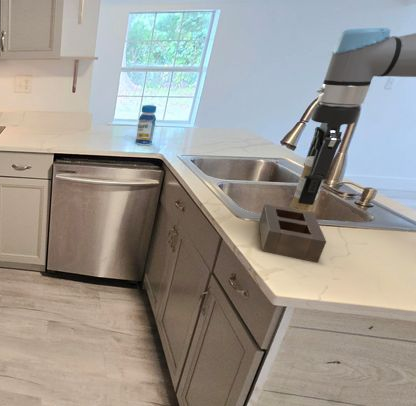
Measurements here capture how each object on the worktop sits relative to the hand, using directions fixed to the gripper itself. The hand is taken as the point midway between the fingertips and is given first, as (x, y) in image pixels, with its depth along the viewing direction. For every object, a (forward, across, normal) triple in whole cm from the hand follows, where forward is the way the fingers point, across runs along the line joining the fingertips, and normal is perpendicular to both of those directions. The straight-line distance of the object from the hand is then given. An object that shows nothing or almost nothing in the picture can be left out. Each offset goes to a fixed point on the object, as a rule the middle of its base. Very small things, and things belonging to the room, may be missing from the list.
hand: (303, 199), depth 91 cm
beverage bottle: (+14, -97, -53) cm, 112 cm away
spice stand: (+14, -4, 0) cm, 14 cm away
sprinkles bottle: (+3, 0, 0) cm, 3 cm away
